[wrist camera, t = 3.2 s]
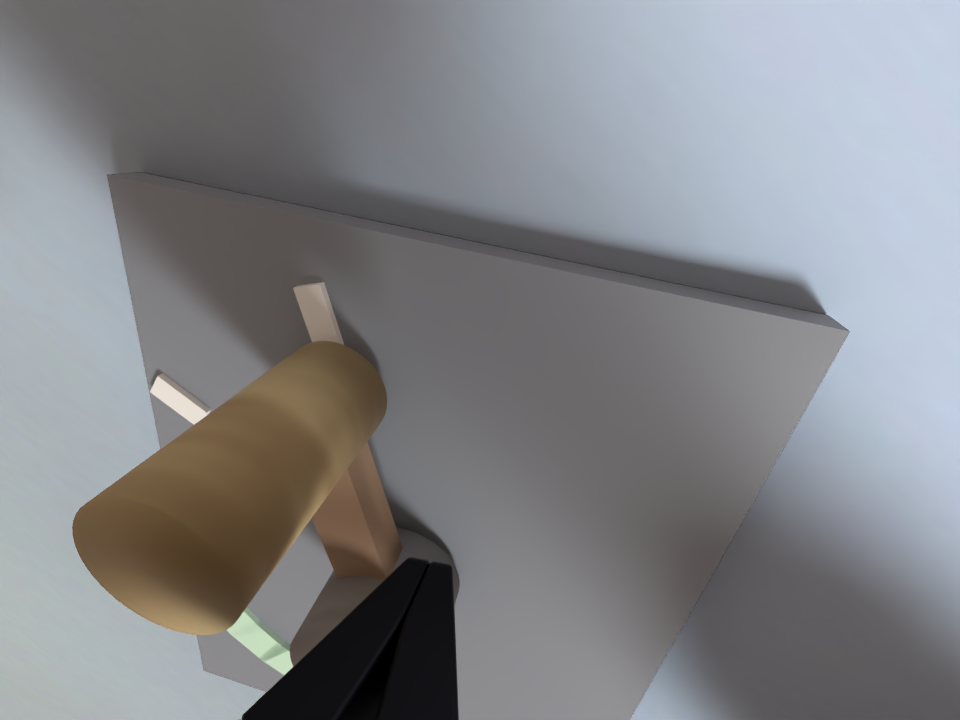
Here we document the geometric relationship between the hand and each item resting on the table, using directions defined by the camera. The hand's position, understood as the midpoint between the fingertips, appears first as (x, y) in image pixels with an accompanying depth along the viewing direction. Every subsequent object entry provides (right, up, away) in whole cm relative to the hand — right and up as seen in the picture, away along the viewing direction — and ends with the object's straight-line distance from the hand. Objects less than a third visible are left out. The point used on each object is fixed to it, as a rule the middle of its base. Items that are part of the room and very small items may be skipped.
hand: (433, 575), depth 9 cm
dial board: (-2, -3, +8) cm, 9 cm away
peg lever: (-2, 0, +6) cm, 6 cm away
